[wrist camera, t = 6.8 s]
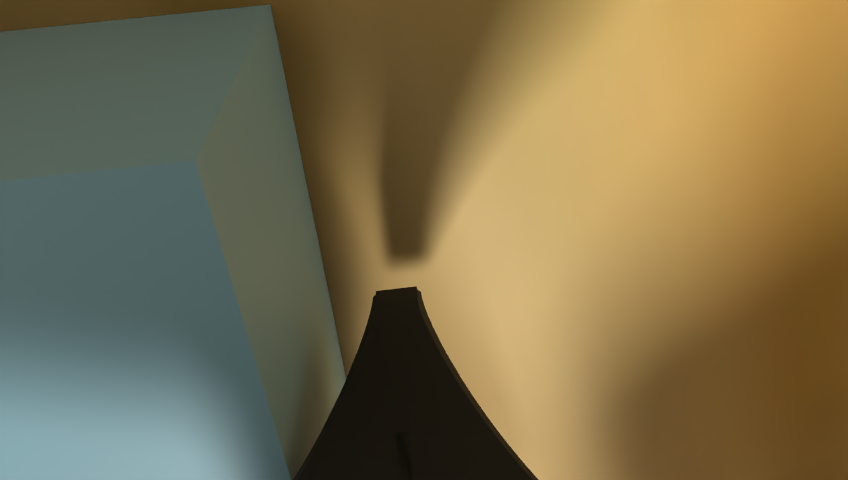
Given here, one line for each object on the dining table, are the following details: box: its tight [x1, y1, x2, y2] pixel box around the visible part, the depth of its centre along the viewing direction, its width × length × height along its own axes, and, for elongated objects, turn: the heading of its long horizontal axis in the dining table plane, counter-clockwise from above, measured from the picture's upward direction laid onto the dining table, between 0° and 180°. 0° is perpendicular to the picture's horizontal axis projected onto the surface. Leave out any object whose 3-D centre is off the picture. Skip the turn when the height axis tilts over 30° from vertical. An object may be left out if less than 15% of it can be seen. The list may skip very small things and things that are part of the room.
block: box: [0, 4, 346, 480], centre depth 10 cm, size 8×10×5 cm
